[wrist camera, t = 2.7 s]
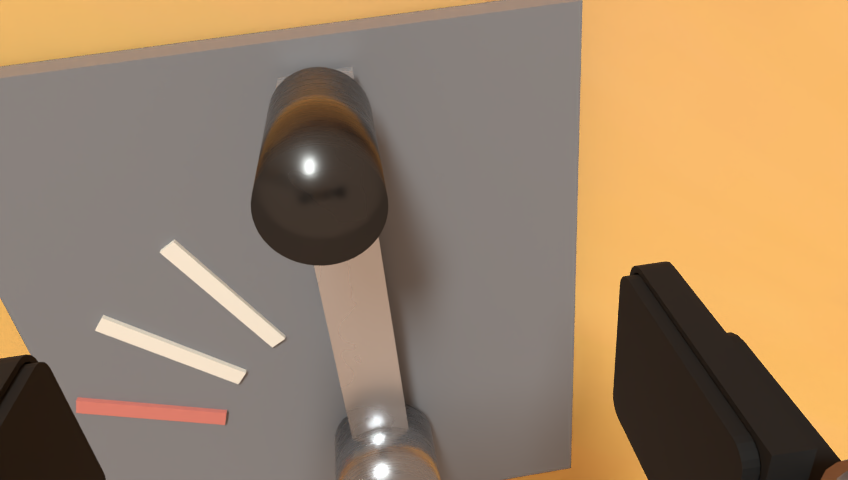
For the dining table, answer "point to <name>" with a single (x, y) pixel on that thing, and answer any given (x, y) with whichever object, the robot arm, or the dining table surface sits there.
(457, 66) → the board
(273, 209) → the swing lever
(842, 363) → the dining table surface
